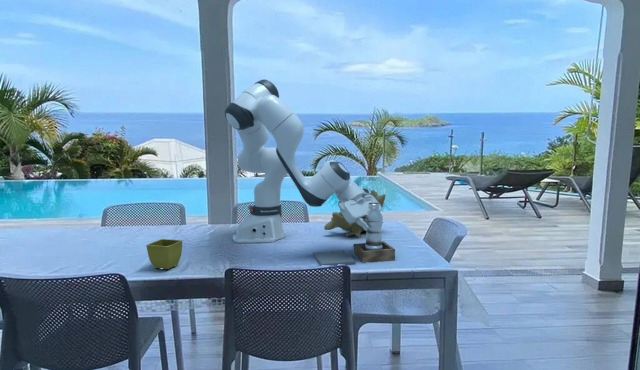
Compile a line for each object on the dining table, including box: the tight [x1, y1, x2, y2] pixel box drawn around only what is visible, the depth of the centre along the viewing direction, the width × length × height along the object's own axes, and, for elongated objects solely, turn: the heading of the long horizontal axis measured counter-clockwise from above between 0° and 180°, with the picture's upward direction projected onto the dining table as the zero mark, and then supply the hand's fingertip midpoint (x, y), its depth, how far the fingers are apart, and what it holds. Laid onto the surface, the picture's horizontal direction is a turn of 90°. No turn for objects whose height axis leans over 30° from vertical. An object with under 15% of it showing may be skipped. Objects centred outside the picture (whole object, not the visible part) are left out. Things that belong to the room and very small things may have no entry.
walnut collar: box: [353, 241, 396, 264], centre depth 161 cm, size 12×11×4 cm
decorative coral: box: [324, 189, 386, 238], centre depth 194 cm, size 26×22×25 cm
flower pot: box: [145, 238, 184, 270], centre depth 152 cm, size 9×9×9 cm
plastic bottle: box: [365, 202, 384, 251], centre depth 160 cm, size 6×7×20 cm
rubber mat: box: [312, 250, 356, 266], centre depth 159 cm, size 12×14×1 cm
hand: (374, 226), depth 159 cm, fingers open, 8 cm apart
